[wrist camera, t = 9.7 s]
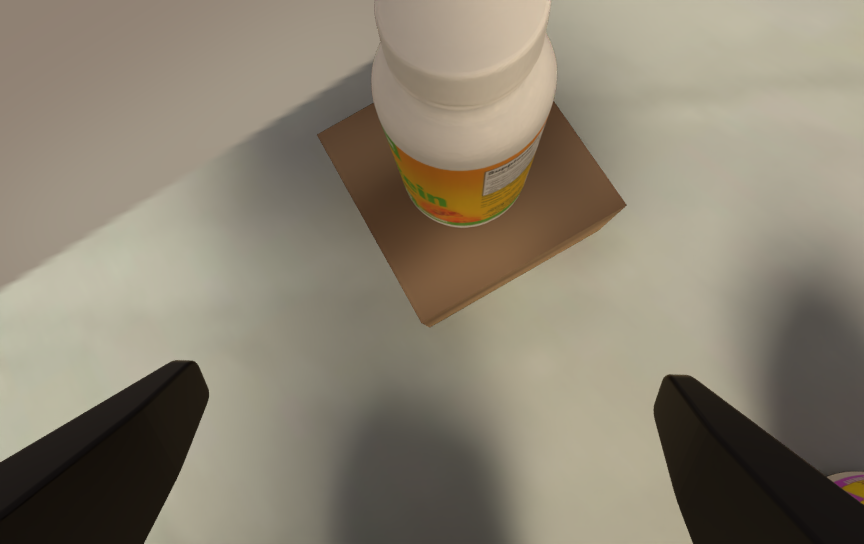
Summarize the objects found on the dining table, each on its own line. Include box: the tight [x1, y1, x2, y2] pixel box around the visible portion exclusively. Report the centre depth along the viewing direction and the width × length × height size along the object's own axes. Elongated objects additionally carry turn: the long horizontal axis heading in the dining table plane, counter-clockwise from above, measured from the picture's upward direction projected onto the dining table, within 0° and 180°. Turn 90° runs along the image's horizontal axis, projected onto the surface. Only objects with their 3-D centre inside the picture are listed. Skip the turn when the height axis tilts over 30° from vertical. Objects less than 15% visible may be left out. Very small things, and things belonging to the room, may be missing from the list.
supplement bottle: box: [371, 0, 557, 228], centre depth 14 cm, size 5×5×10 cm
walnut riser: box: [317, 101, 626, 327], centre depth 21 cm, size 10×10×4 cm
